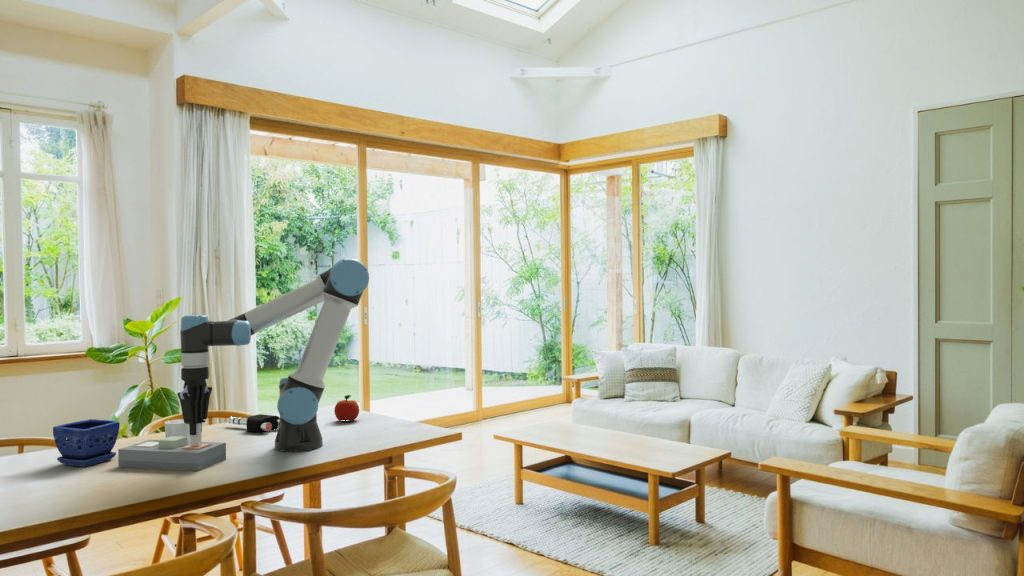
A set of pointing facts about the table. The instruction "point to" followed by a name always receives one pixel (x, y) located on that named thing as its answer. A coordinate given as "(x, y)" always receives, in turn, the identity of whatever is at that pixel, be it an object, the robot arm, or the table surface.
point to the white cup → (177, 428)
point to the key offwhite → (148, 444)
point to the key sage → (173, 442)
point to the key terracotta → (196, 447)
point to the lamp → (257, 422)
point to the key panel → (171, 457)
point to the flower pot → (86, 441)
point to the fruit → (346, 409)
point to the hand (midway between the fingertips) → (195, 445)
